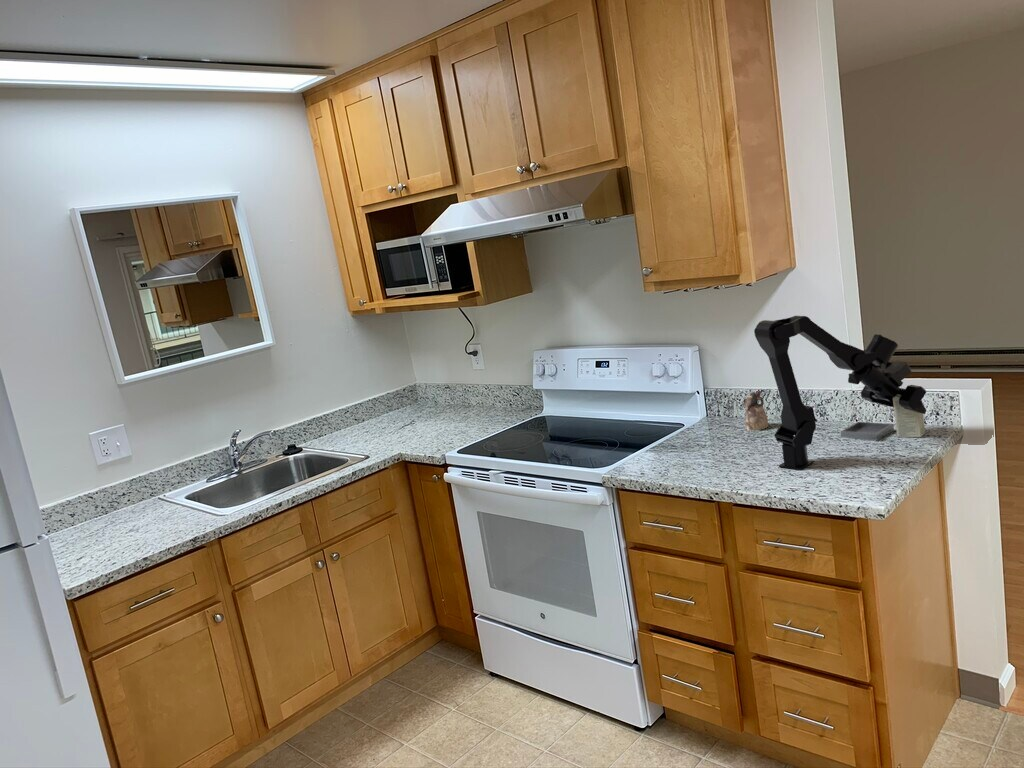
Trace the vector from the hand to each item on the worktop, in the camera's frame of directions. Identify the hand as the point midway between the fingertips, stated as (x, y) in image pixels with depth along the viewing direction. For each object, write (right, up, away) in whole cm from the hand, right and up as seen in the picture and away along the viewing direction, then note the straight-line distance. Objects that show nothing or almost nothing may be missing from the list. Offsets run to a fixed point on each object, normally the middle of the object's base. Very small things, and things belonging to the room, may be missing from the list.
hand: (911, 409), depth 209 cm
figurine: (-32, -7, +33) cm, 46 cm away
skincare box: (0, -7, +1) cm, 7 cm away
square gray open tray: (-8, -7, +8) cm, 14 cm away
